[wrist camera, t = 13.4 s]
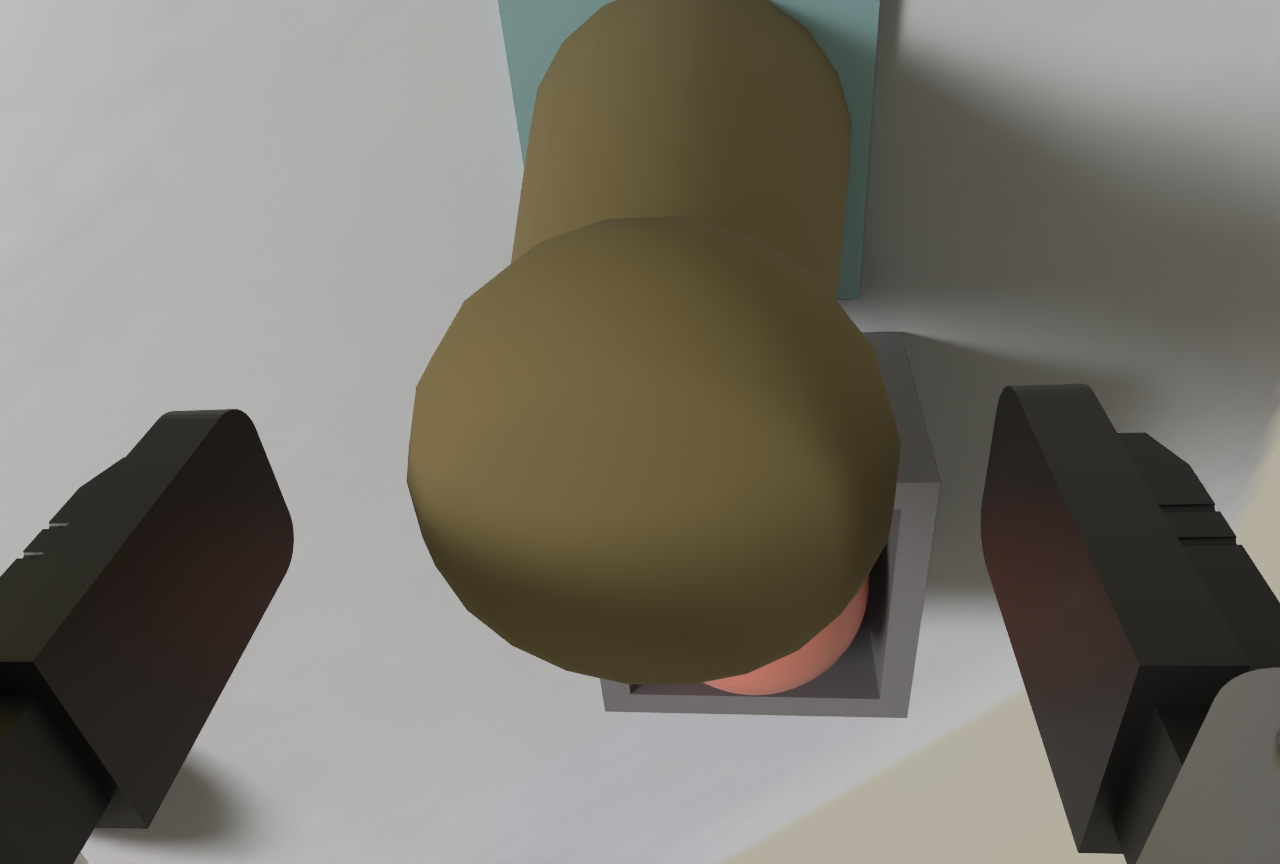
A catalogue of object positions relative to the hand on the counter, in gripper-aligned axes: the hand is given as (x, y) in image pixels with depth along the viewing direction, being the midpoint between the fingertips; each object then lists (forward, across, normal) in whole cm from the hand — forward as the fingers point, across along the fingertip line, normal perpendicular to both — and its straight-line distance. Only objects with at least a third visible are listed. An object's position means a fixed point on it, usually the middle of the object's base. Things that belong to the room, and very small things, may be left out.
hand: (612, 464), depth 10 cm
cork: (+10, 0, 0) cm, 10 cm away
